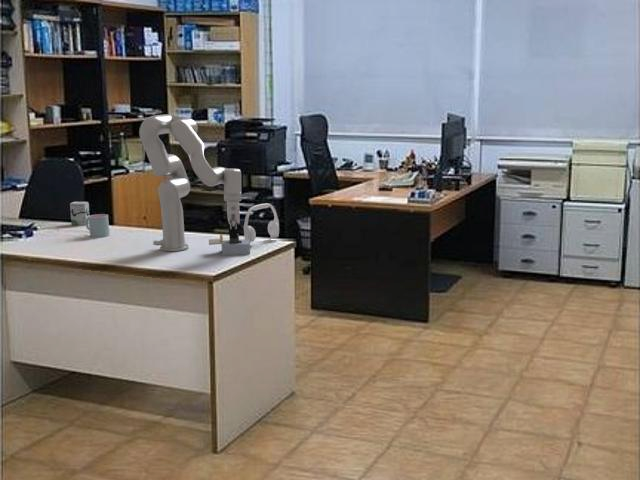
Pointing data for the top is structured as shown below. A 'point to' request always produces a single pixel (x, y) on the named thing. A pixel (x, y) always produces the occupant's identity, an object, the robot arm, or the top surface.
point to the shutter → (216, 241)
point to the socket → (236, 247)
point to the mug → (98, 225)
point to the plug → (234, 239)
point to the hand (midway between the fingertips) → (233, 235)
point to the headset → (272, 226)
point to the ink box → (79, 213)
